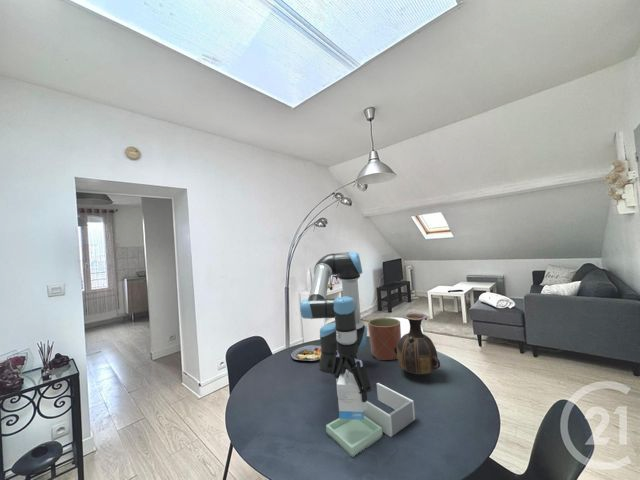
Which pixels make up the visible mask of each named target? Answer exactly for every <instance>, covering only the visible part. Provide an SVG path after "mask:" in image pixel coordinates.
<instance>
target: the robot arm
mask: <svg viewBox="0 0 640 480" xmlns="http://www.w3.org/2000/svg"><path fill="white" fill-rule="evenodd" d="M361 274H363V268H362V262H361V258H360V254H359V253H358V252H355V251H353V252H351V251H350V252H349V251H348V252H347V251H346V252H337V253H329V254H326V255H324V256H322V257H321V258H320V259H319V260H318V261H317V262H316V264H315V266H314V267H313V278H312V279H313V280H312V283H311V287H310V290H309V294H308V299H303V300H301V302H300V308H299V309H300V315H301V318H302V319H309V320H310V319H311V320H314V319H316V320H317V319H334V322H331V323H326V324H324V325H323V326H321V328H319V340H320V345H321V357H320V359H319V361H318V368H319V370H320V371H322V372H325V373H331V375H333V376H334V378H335V386H336V387H337V382H338V379H339V376H340V373H343V372H344V370H345V368H346V369H347V370H348V371H349V372H350V373H352V374H353V376H354V378H355V381H356V383H357V385H358V388H359V390H360V391H359V392H358V394H359V406H360V412H363V411H365V410H367V401H368V393H369V392H371V391H372V386H371V384H370V380H369V377H368V374H367V371H366V368H365V361H364V359H358V357H357V354H358V352H359V348H360V349H362V348H366V346H367V341H368V340H367V339H368V338H367V337H368V328H367V327H368V325H365V323H364V321H363V320H361V319H362V317H361V308H360V307H361V304H360V293H359V282H358V280H359V279H360V278H361ZM331 276H338V279H339V280H340V281H341V285H342V286H341V287H342V296H339V297H336V298H327V294H328V287H329V281H330V278H331ZM362 387H363V388H362ZM336 395H337V397H338V390H337V389H336Z"/></svg>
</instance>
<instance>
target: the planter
mask: <svg viewBox="0 0 640 480" xmlns="http://www.w3.org/2000/svg"><path fill="white" fill-rule="evenodd" d="M367 324H368V325H367V327H368V336H369V344H370V352H371V356H373V357H374V358H376V360H378V361H387V360H388V361H391V360H398V359H397V354H396V353H395V351H394V349H395V347H396V346H398V343H399V341H400V339H401V338H402V331H401V321H400V320H399V319H396V318H391V317H377V318H372V319H370V320H368V322H367ZM396 350H397V348H396Z"/></svg>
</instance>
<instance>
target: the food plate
mask: <svg viewBox="0 0 640 480" xmlns="http://www.w3.org/2000/svg"><path fill="white" fill-rule="evenodd" d="M303 351H304V352H303ZM300 352H301V354H299V353H300ZM304 354H305V355H304ZM290 355H291V357H292V359H293V360H296V361H297V360H298V361H305V362H307V361H308V362H309V361H310V362H312V361H313V362H315V361H320V357H321V344H319V345H318V344H310V345H304V346H301V347H299V348H296V349H294V350H293V352H291V354H290Z"/></svg>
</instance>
